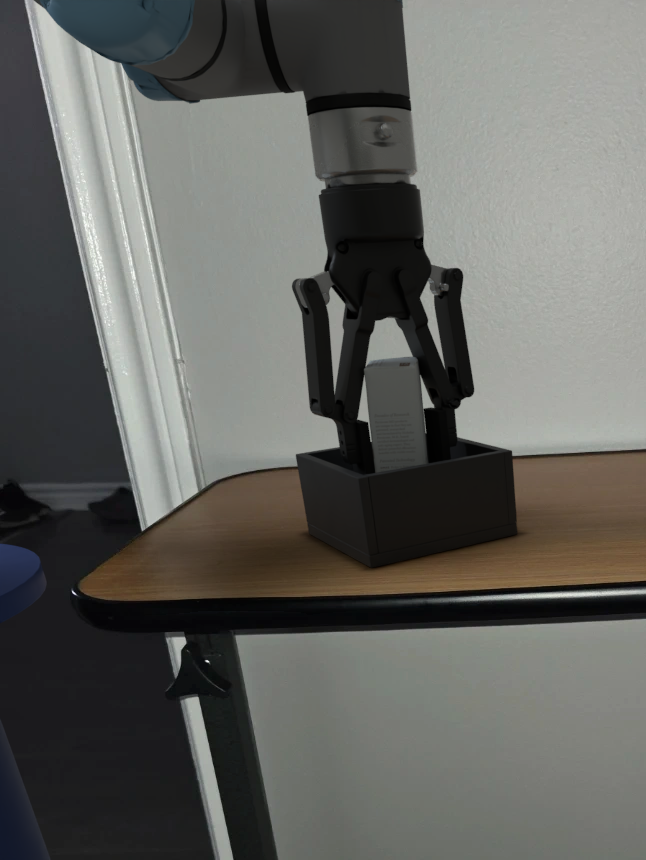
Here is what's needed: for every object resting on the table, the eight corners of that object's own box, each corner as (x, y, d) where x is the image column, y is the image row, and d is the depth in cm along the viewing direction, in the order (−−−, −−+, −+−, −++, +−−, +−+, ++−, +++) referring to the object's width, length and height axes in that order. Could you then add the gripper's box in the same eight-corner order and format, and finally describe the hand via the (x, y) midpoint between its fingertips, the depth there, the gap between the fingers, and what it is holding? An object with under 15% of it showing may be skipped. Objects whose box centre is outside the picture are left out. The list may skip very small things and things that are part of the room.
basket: (371, 568, 72) (358, 478, 69) (308, 533, 83) (295, 454, 80) (517, 534, 79) (512, 450, 76) (443, 506, 89) (435, 431, 86)
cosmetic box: (384, 503, 82) (364, 359, 77) (435, 499, 83) (418, 355, 77) (379, 521, 77) (357, 367, 71) (433, 517, 77) (415, 362, 72)
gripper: (257, 181, 61) (315, 523, 72) (505, 176, 70) (524, 481, 81) (224, 190, 67) (282, 507, 77) (457, 185, 76) (481, 469, 87)
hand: (406, 493), depth 79 cm, fingers closed on cosmetic box, 6 cm apart
